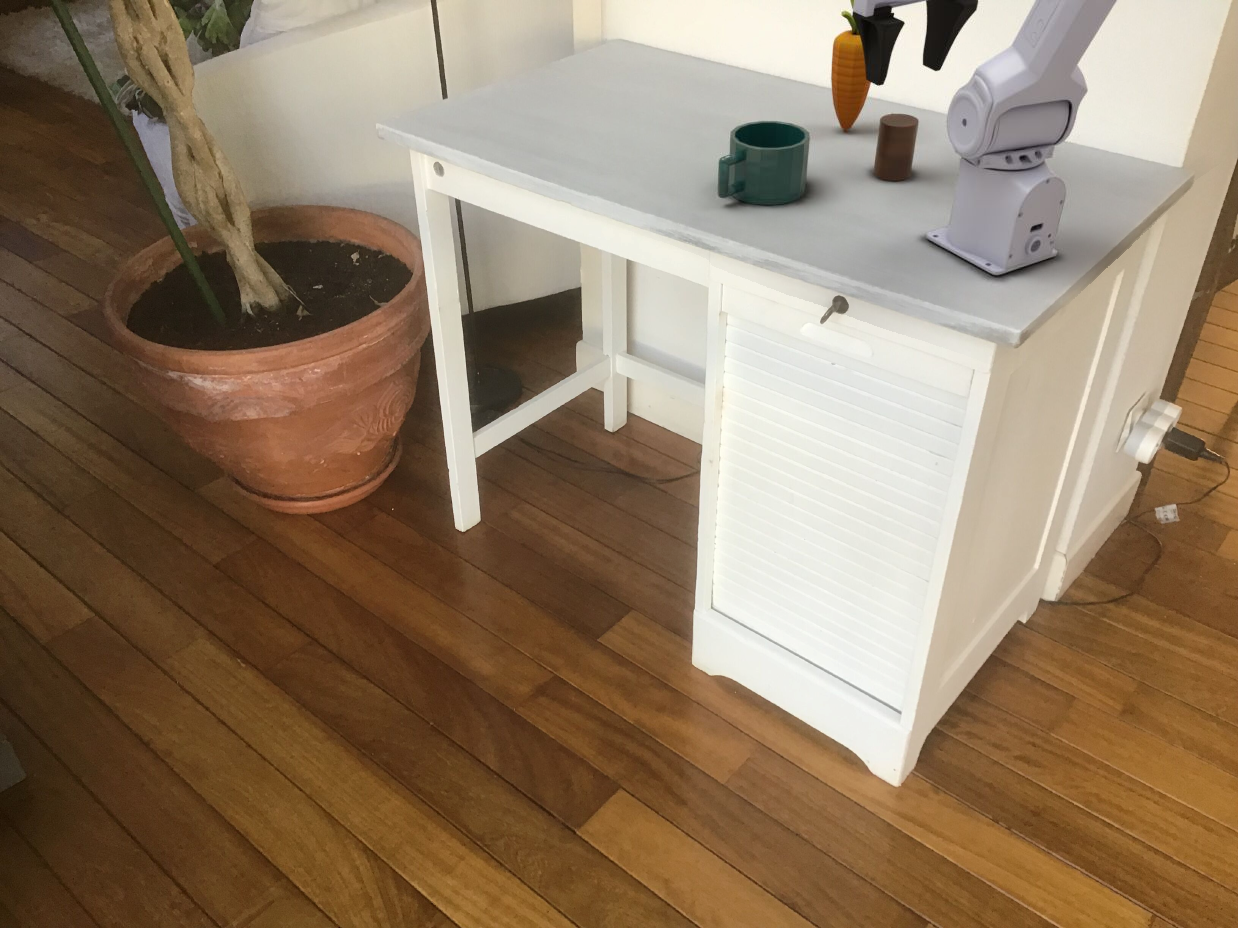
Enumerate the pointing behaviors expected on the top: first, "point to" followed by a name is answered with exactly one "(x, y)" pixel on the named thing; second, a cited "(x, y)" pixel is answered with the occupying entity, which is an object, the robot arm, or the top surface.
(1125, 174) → the top surface
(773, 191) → the mug
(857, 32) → the carrot
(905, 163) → the walnut peg
